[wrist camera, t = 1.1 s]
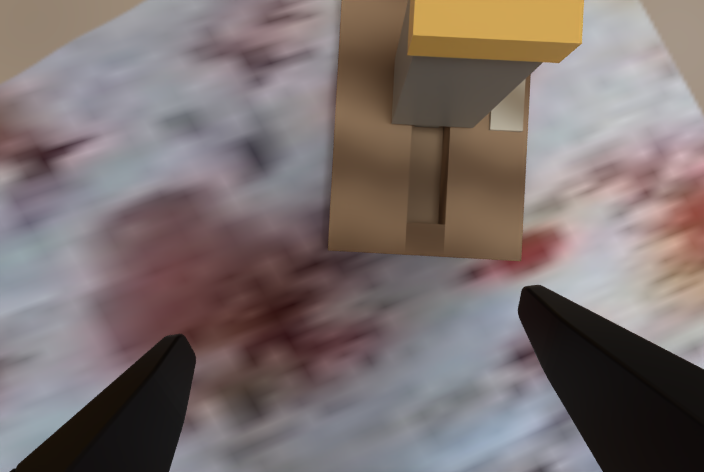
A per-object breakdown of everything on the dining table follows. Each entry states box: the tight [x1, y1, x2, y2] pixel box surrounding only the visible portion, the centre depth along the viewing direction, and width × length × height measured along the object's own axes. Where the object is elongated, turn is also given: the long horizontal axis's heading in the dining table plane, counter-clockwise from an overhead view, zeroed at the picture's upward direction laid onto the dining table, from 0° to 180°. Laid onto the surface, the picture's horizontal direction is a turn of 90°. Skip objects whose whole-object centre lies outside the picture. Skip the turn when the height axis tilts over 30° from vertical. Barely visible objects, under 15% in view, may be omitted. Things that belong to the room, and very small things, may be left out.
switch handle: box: [391, 0, 584, 128], centre depth 16 cm, size 5×6×11 cm
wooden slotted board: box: [328, 0, 531, 261], centre depth 22 cm, size 22×12×3 cm, turn 177°
